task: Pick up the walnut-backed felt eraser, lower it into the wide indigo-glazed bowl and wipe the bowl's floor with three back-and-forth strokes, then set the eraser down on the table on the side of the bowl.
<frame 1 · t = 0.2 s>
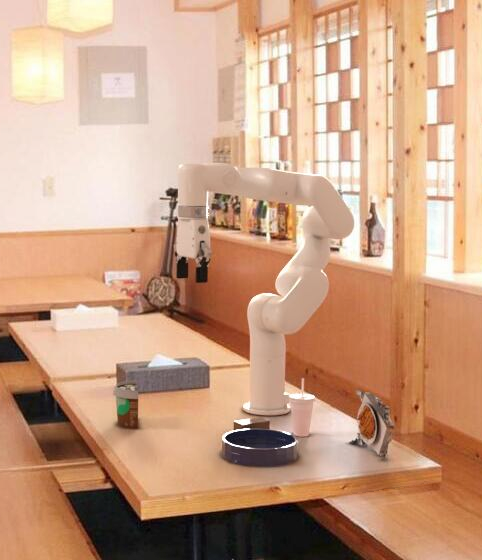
hand: (191, 280, 266), 37 cm above the table, tool pointing down, fingers open, 9 cm apart
smoothie: (301, 435, 259), on the table
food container: (125, 424, 268), on the table
bowl: (259, 455, 241), on the table
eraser: (251, 436, 257), on the table
meal: (369, 452, 246), on the table
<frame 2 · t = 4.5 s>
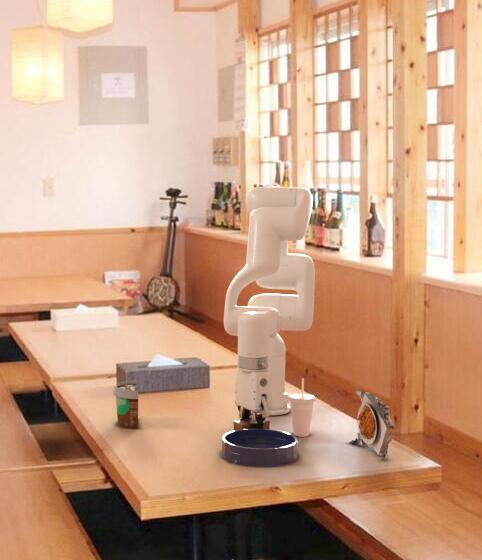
hand: (251, 435, 257), 0 cm above the table, tool pointing down, fingers closed on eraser, 4 cm apart
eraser: (251, 436, 257), on the table, touching gripper
everything else where it was.
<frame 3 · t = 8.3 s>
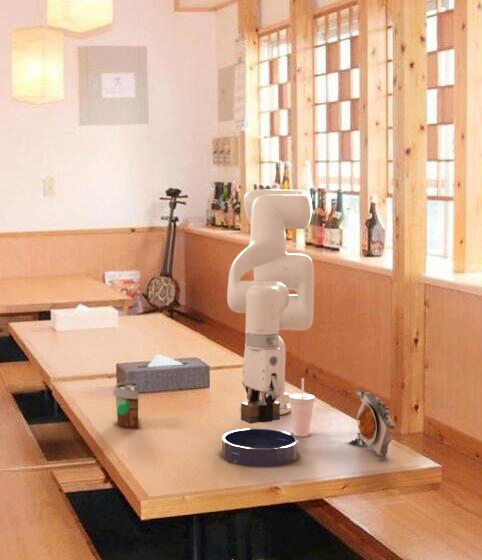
hand: (260, 418, 240), 9 cm above the table, tool pointing down, fingers closed on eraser, 4 cm apart
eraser: (260, 419, 240), point 8 cm above the table, touching gripper
everything else where it was.
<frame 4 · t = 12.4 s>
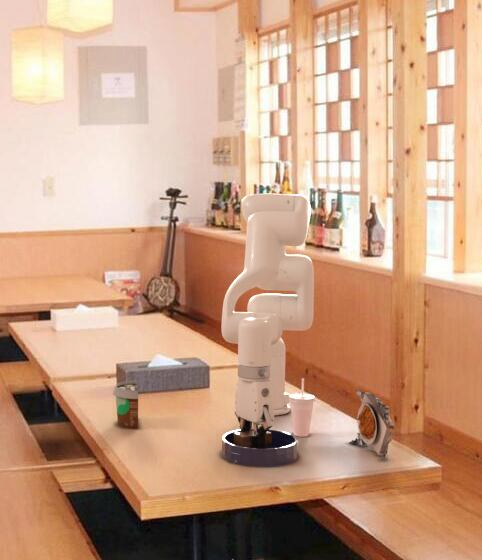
hand: (252, 448, 244), 1 cm above the table, tool pointing down, fingers closed on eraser, 4 cm apart
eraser: (252, 449, 244), point 1 cm above the table, touching gripper
everything else where it was.
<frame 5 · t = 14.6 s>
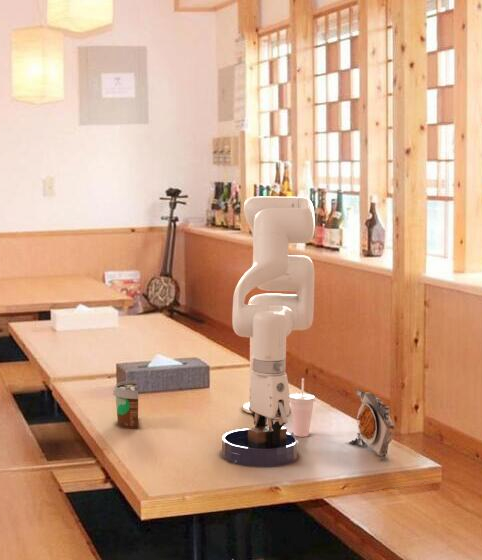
hand: (267, 444, 239), 3 cm above the table, tool pointing down, fingers closed on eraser, 4 cm apart
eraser: (267, 445, 239), point 3 cm above the table, touching gripper
everything else where it was.
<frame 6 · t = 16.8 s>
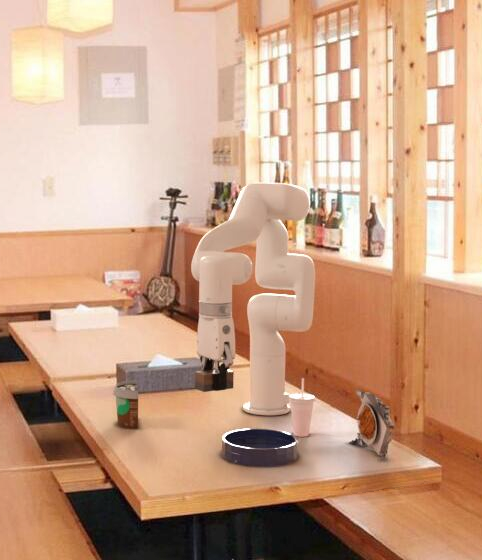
hand: (214, 387, 243), 15 cm above the table, tool pointing down, fingers closed on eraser, 4 cm apart
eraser: (214, 388, 243), point 15 cm above the table, touching gripper
everything else where it was.
when the fingers open (0 cm above the table, at t = 20.7 s): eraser stays where it is, on the table.
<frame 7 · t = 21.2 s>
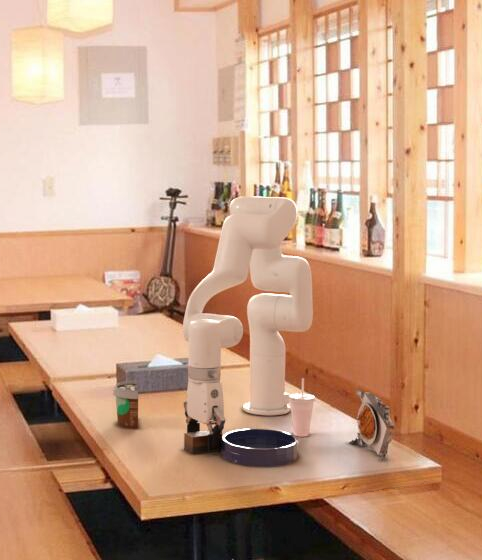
hand: (203, 445, 246), 1 cm above the table, tool pointing down, fingers open, 9 cm apart
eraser: (203, 449, 245), on the table
everything else where it was.
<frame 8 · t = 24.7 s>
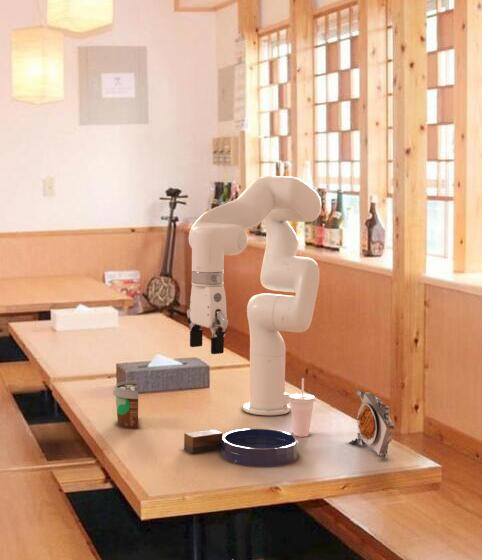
hand: (206, 349, 250), 22 cm above the table, tool pointing down, fingers open, 9 cm apart
nothing on the table moved.
at the end: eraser inside the target area (0.2 cm from its centre), on the table; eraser tilted 0°; the gripper is holding nothing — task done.
